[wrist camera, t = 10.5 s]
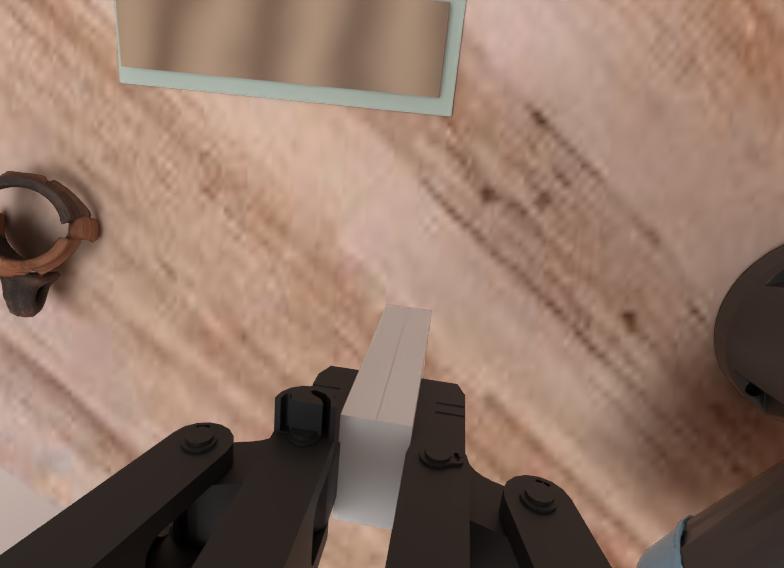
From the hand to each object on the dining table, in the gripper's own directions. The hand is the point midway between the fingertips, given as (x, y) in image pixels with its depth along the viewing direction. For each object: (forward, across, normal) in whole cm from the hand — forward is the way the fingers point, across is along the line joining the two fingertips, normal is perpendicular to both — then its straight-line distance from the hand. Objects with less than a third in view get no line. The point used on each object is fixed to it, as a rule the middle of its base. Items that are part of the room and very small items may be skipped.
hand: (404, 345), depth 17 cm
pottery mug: (+25, +34, +6) cm, 42 cm away
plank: (+24, +13, -12) cm, 30 cm away
